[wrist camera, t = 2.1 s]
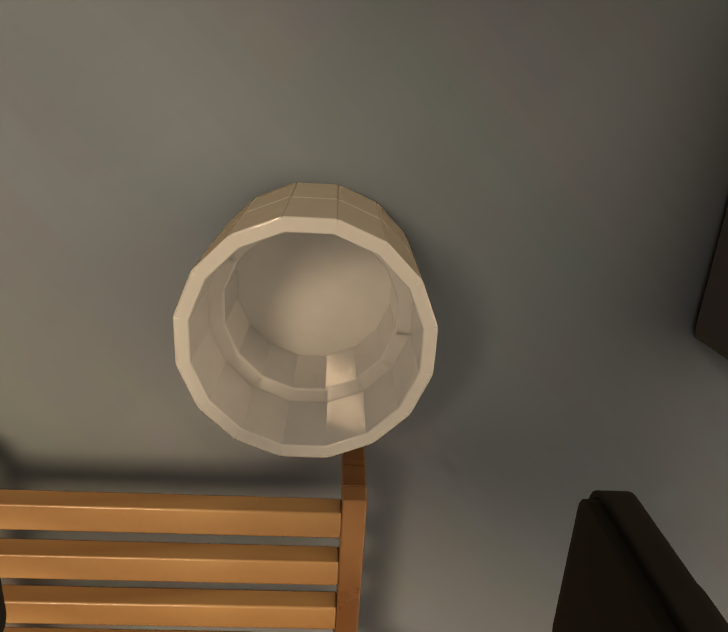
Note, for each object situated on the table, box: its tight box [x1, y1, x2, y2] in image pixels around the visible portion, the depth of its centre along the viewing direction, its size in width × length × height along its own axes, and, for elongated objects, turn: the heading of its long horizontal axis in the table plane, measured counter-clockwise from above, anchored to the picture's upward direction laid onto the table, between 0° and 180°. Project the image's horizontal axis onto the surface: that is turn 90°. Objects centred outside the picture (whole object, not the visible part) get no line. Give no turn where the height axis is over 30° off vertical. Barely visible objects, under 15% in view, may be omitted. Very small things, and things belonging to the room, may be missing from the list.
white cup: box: [173, 183, 438, 458], centre depth 19 cm, size 7×7×6 cm
